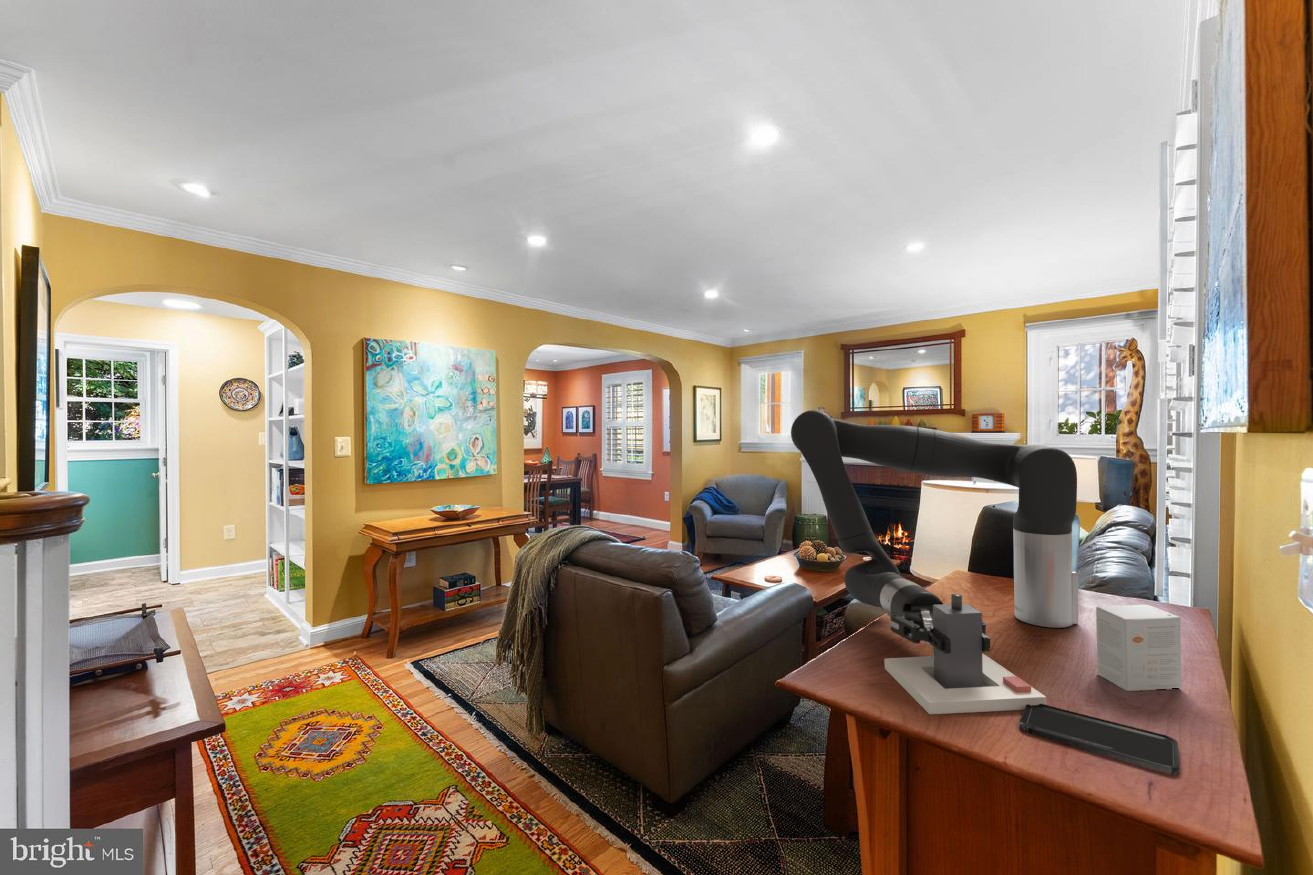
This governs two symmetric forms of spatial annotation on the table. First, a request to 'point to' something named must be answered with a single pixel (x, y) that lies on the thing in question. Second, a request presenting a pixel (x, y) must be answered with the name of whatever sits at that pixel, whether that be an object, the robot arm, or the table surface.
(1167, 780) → the table surface
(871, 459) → the robot arm
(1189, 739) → the table surface
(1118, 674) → the small box
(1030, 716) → the phone
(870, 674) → the table surface
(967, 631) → the plug
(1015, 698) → the socket plate
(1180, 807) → the table surface
